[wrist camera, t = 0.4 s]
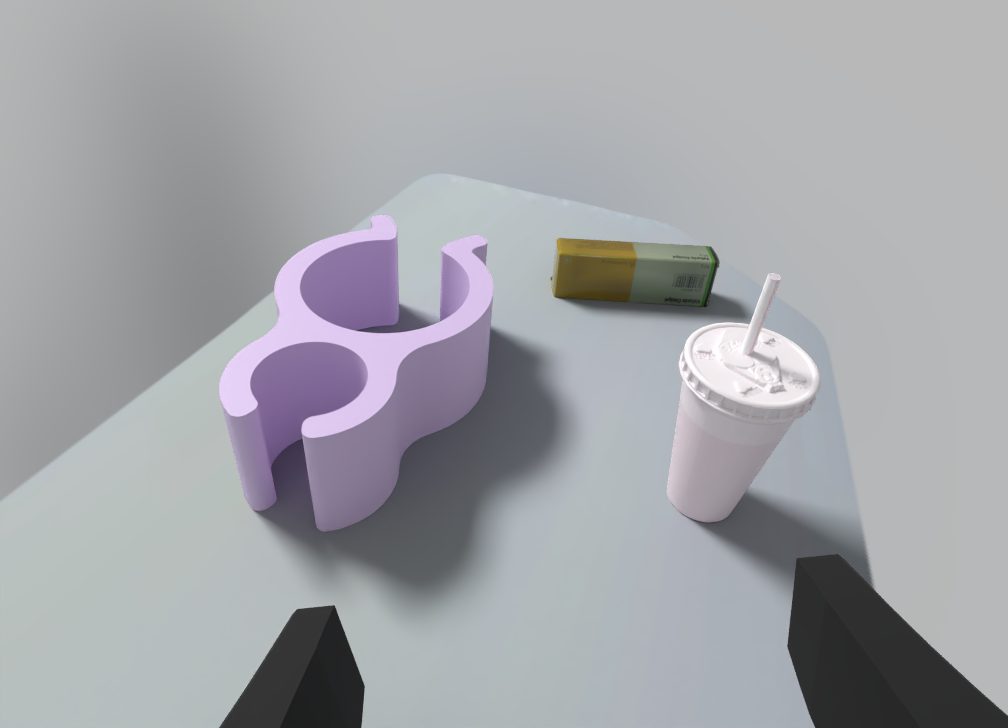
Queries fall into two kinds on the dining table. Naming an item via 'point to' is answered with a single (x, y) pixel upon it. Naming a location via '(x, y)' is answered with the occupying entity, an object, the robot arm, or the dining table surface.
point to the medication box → (634, 272)
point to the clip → (355, 371)
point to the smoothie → (734, 409)
